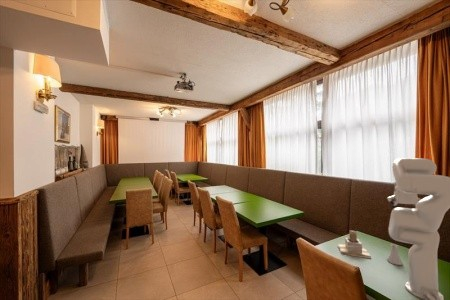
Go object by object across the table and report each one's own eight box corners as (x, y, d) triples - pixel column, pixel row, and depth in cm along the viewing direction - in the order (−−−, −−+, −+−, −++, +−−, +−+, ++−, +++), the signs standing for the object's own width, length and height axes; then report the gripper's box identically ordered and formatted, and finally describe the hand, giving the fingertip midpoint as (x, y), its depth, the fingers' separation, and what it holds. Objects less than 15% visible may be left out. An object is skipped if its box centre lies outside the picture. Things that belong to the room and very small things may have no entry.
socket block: (370, 258, 120) (370, 246, 120) (341, 253, 125) (341, 242, 126) (364, 249, 131) (364, 238, 131) (337, 245, 137) (337, 235, 137)
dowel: (357, 251, 126) (357, 233, 126) (350, 250, 127) (350, 232, 128) (355, 248, 130) (355, 230, 130) (348, 247, 131) (348, 229, 131)
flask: (405, 266, 111) (405, 249, 112) (391, 264, 113) (391, 247, 113) (397, 259, 118) (397, 243, 119) (384, 258, 120) (383, 242, 120)
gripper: (389, 184, 115) (390, 213, 114) (427, 186, 109) (428, 216, 108) (384, 182, 122) (385, 209, 121) (419, 184, 116) (420, 212, 115)
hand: (405, 212), depth 115 cm, fingers open, 9 cm apart
